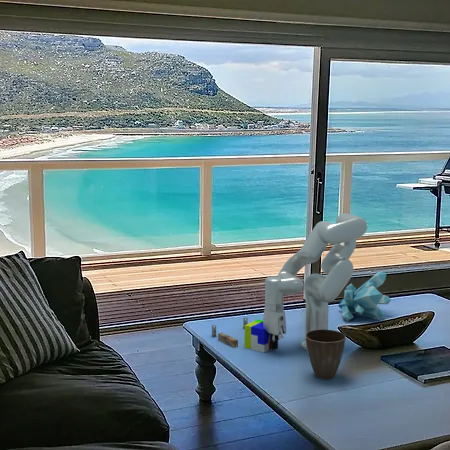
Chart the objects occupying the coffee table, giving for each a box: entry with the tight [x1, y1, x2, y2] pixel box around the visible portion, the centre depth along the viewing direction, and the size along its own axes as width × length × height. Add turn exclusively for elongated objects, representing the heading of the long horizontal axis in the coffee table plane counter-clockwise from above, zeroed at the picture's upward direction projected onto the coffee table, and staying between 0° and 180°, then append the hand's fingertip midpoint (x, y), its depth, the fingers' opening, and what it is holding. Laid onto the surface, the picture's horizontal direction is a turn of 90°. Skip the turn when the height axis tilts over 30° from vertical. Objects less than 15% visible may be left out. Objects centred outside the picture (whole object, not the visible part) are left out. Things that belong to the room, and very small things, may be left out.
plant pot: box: [306, 329, 346, 381], centre depth 247 cm, size 15×15×16 cm
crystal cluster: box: [337, 271, 392, 322], centre depth 315 cm, size 22×26×21 cm
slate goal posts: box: [211, 317, 249, 338], centre depth 298 cm, size 2×20×5 cm, turn 125°
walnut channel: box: [217, 332, 239, 348], centre depth 289 cm, size 12×20×3 cm, turn 125°
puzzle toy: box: [244, 319, 271, 353], centre depth 279 cm, size 10×10×10 cm
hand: (273, 348), depth 272 cm, fingers closed
